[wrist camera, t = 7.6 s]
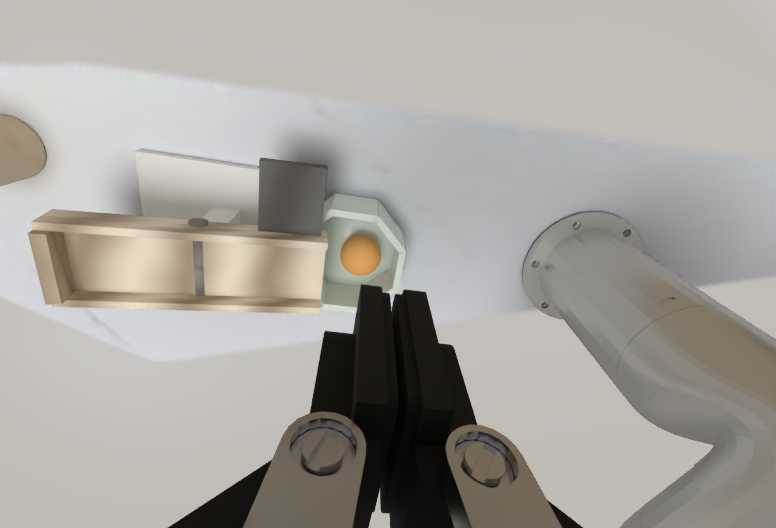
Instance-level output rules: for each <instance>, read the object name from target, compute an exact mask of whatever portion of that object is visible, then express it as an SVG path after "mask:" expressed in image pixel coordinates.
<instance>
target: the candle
mask: <svg viewBox="0 0 776 528" xmlns="http://www.w3.org/2000/svg"><path fill="white" fill-rule="evenodd" d="M45 162H46V153H45V148H44V146H43V143H42V141H41V140H40V138H39V137H38V135H37V134H36V133H35V132H34V131H33V130H32V129H31V128H30V127H29V126H28V125H27V124H25V123H24V122H22V121H20V120H18V119H16V118H14V117H11V116H7V115H0V186H3V185H6V184H9V183H12V182H16V181H19V180H22V179H25V178H28V177H31V176H34V175H35V174H37V173H39V172H40V171H41V170H42V169H43V167H44V165H45Z"/></svg>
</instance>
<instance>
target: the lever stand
mask: <svg viewBox="0 0 776 528" xmlns="http://www.w3.org/2000/svg"><path fill="white" fill-rule="evenodd" d="M135 158H136V167H137V176H138V185H139V194H140V203H141V211H142V216H146V217H158V218H171V219H183V220H190V219H193V218H204V219H207V220H208V221H209V222H221V223H234V224H246V225H258V206H259V167H254V166H248V165H241V164H234V163H228V162H221V161H215V160H208V159H202V158H195V157H188V156H182V155H175V154H169V153H162V152H155V151H149V150H142V149H140V150H137V151H135Z"/></svg>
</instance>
